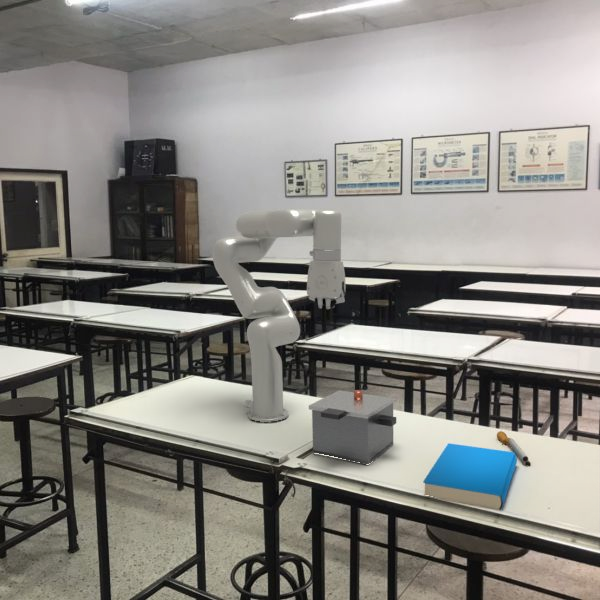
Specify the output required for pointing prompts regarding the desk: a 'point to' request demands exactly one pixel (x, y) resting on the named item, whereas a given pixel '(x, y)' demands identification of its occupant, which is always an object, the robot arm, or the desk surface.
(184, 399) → the desk surface
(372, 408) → the cooker lid
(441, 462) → the book
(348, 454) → the grey open box
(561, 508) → the desk surface
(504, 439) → the orange and grey rod
